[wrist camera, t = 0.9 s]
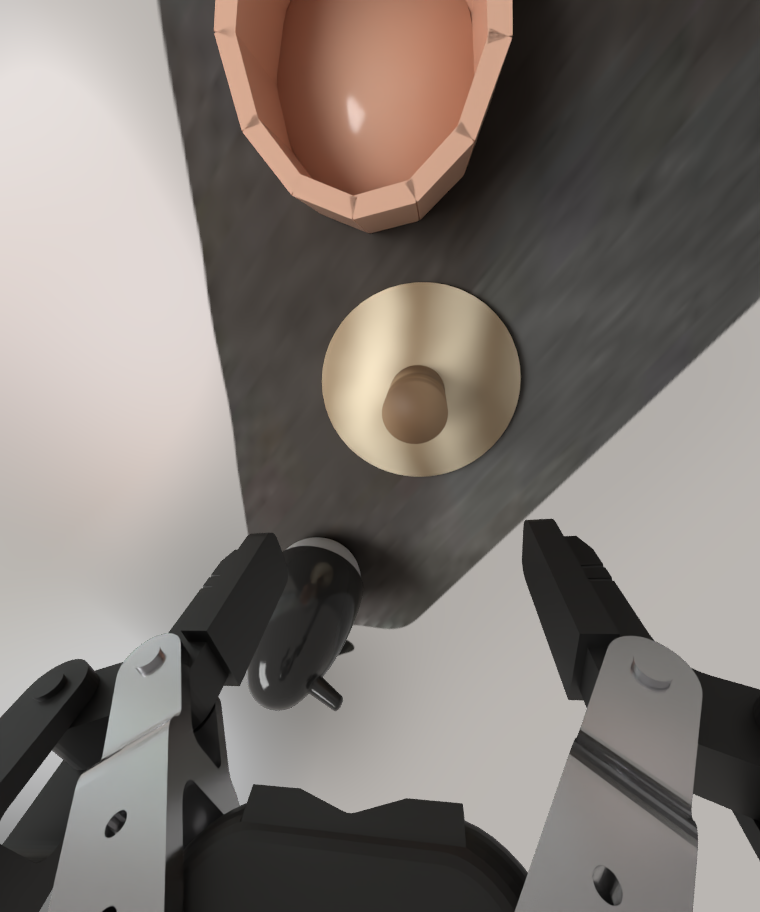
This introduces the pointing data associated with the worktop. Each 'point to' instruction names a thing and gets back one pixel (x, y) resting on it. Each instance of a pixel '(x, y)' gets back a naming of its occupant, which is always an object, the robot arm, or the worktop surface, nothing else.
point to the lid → (421, 379)
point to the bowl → (364, 96)
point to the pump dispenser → (307, 626)
